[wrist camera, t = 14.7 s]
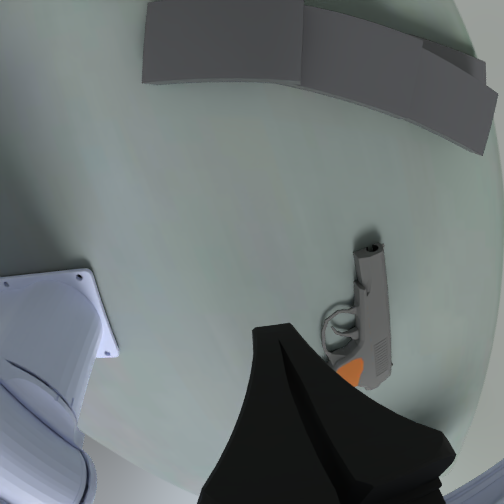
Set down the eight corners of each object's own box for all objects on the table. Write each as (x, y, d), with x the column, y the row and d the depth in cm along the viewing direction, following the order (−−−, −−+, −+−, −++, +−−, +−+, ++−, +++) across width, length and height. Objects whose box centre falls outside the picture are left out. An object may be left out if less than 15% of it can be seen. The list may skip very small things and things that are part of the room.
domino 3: (383, 108, 16) (482, 156, 16) (401, 37, 13) (498, 93, 14) (374, 107, 17) (468, 151, 18) (391, 42, 15) (483, 92, 16)
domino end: (411, 101, 17) (485, 118, 18) (409, 34, 15) (485, 62, 16) (396, 100, 18) (470, 115, 19) (394, 37, 16) (470, 62, 17)
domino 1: (141, 83, 14) (300, 81, 13) (148, 2, 12) (304, -7, 11) (156, 85, 16) (300, 85, 15) (161, 10, 14) (304, 4, 13)
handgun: (227, 296, 23) (377, 238, 23) (283, 410, 30) (388, 367, 30) (230, 310, 21) (389, 248, 21) (287, 423, 28) (395, 378, 28)
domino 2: (259, 77, 15) (406, 118, 14) (278, 0, 13) (423, 40, 12) (265, 81, 16) (398, 118, 16) (282, 10, 14) (414, 47, 14)
